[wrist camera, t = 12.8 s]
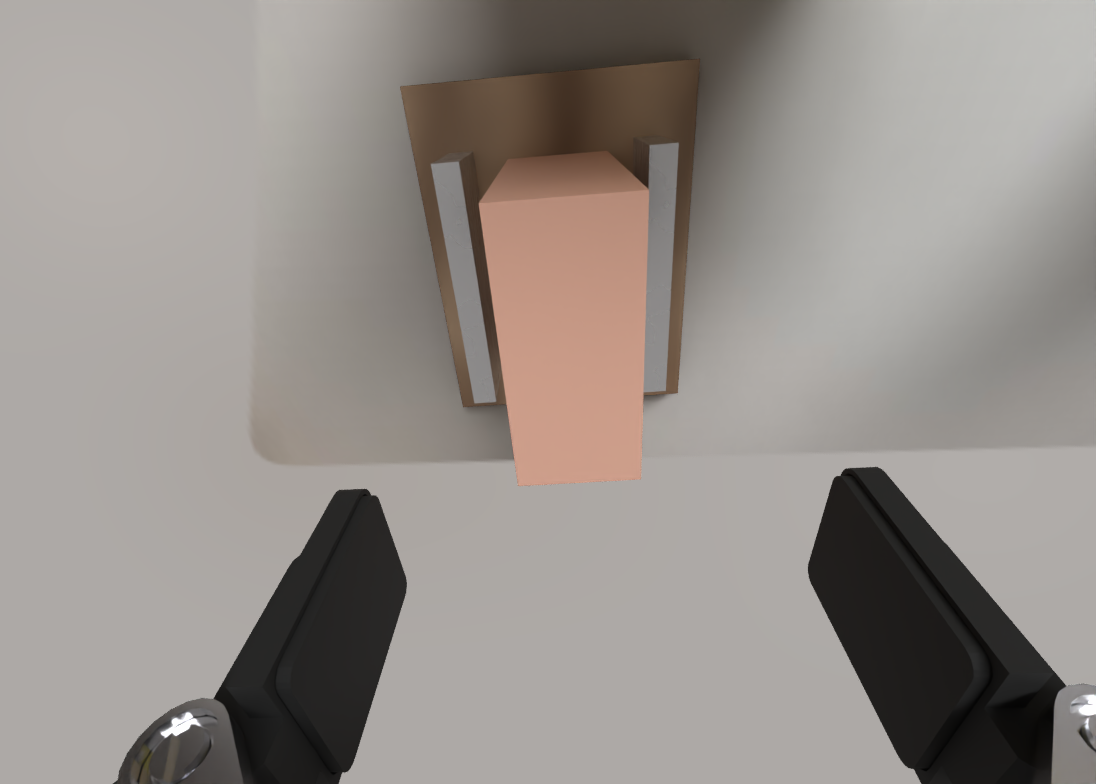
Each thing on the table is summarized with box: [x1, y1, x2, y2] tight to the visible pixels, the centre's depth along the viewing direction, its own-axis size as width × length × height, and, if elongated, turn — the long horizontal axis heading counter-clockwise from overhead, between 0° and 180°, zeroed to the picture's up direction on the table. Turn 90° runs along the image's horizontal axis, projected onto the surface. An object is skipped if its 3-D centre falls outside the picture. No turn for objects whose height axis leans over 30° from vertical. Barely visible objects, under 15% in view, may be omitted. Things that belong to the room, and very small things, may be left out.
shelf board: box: [400, 59, 700, 407], centre depth 28 cm, size 14×18×2 cm
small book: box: [479, 151, 649, 486], centre depth 22 cm, size 5×11×12 cm, turn 4°
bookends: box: [431, 135, 679, 403], centre depth 26 cm, size 10×12×4 cm
